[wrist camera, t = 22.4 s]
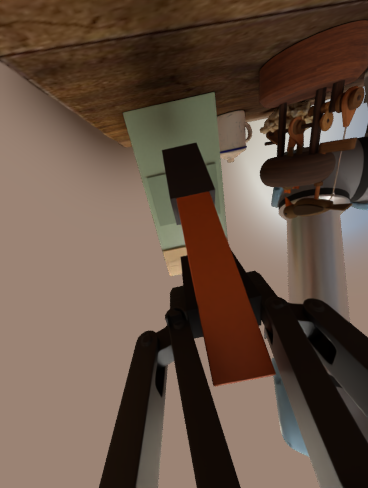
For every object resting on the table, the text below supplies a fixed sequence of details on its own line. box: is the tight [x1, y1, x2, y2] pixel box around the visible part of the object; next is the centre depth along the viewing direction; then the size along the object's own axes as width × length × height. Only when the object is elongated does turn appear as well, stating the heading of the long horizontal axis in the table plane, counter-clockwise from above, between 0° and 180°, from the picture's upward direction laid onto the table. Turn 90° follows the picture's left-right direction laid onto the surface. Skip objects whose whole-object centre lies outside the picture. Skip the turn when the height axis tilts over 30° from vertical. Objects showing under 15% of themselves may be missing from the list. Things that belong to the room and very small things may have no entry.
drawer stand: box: [123, 92, 228, 276], centre depth 39 cm, size 14×18×30 cm
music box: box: [259, 20, 368, 219], centre depth 25 cm, size 15×11×20 cm
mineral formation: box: [260, 101, 314, 134], centre depth 53 cm, size 8×13×15 cm
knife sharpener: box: [162, 143, 276, 386], centre depth 17 cm, size 4×23×4 cm, turn 176°
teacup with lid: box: [217, 110, 252, 163], centre depth 49 cm, size 12×9×12 cm
